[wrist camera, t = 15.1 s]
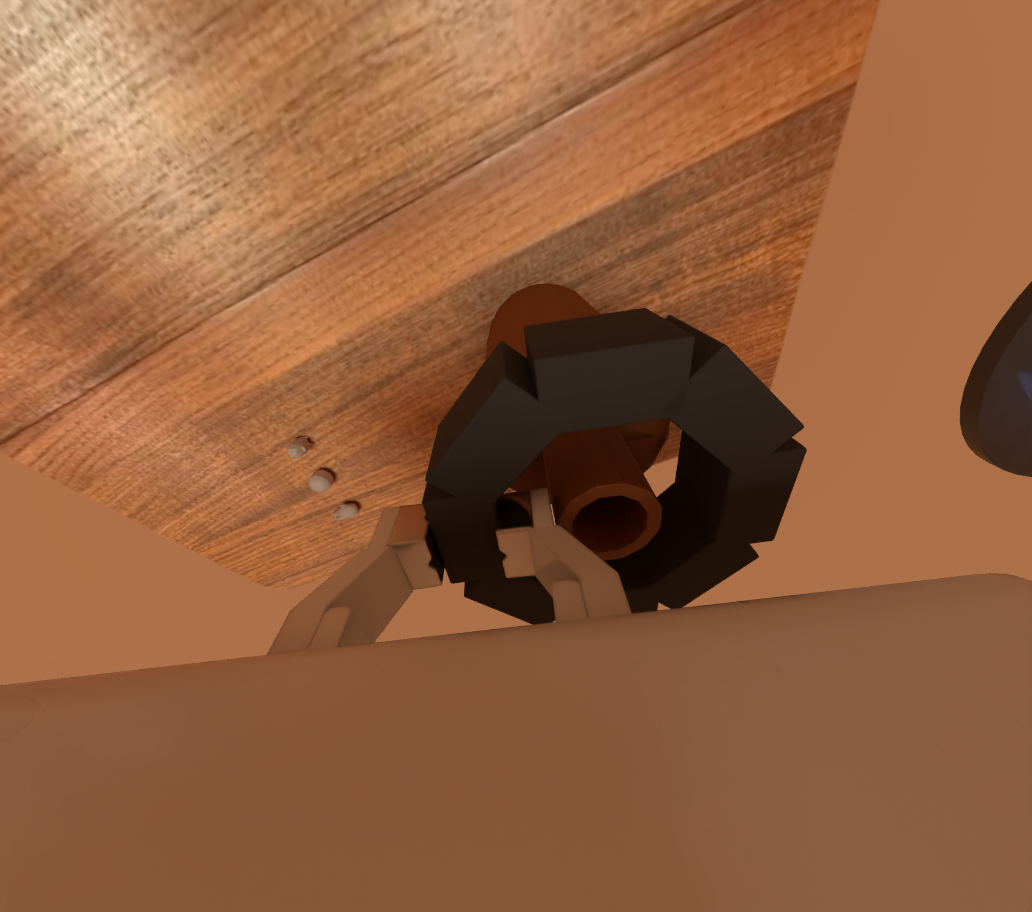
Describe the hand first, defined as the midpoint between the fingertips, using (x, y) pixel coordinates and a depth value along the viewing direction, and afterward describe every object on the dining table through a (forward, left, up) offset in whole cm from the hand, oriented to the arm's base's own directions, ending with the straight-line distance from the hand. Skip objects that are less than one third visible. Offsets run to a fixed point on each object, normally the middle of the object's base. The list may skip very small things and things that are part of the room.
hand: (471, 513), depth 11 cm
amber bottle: (-4, 0, -16) cm, 16 cm away
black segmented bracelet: (-4, 0, -2) cm, 4 cm away
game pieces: (+14, +8, -16) cm, 23 cm away
